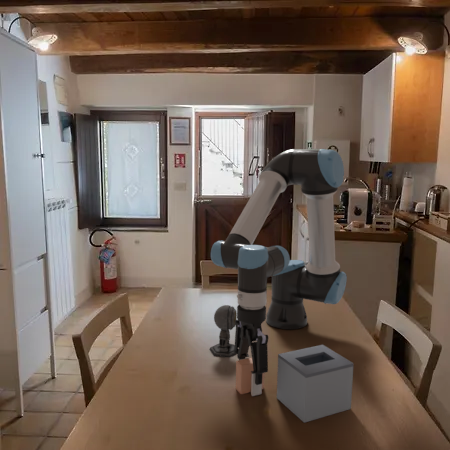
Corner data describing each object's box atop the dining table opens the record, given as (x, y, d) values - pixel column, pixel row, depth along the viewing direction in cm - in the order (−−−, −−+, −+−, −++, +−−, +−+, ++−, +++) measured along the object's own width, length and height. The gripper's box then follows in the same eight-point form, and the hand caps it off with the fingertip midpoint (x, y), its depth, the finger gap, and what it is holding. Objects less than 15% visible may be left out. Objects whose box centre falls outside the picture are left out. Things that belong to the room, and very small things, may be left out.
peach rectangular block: (258, 383, 125) (259, 356, 124) (264, 388, 123) (264, 360, 121) (235, 389, 122) (236, 360, 121) (241, 394, 120) (241, 365, 118)
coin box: (320, 386, 124) (322, 344, 122) (350, 408, 113) (353, 363, 111) (276, 397, 118) (278, 354, 116) (304, 422, 107) (306, 374, 105)
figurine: (237, 358, 140) (238, 311, 138) (206, 355, 142) (206, 309, 140) (242, 346, 149) (242, 302, 146) (212, 344, 151) (212, 300, 148)
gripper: (222, 296, 126) (221, 374, 129) (257, 319, 108) (255, 409, 112) (246, 292, 129) (244, 369, 133) (284, 315, 112) (281, 402, 115)
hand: (249, 387), depth 122 cm, fingers open, 7 cm apart
